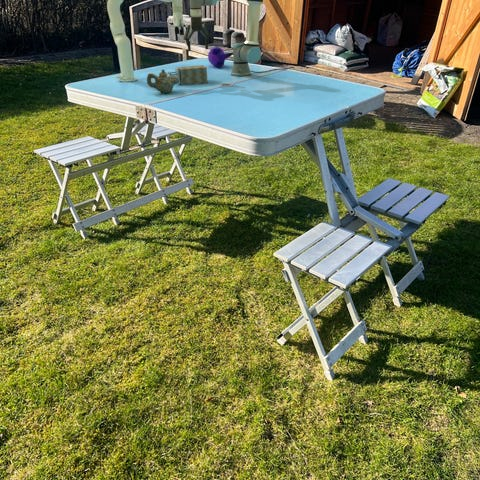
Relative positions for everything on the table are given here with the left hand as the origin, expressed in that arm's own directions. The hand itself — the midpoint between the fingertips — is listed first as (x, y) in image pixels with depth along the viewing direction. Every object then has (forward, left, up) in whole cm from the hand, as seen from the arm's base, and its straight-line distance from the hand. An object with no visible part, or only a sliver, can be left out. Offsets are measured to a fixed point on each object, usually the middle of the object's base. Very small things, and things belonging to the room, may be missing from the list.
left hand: (179, 34), depth 342 cm
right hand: (-1, -40, -7) cm, 41 cm away
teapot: (-33, -54, -30) cm, 70 cm away
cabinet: (-4, -32, -30) cm, 44 cm away
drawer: (-9, -31, -29) cm, 44 cm away
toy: (+41, +18, -30) cm, 54 cm away
